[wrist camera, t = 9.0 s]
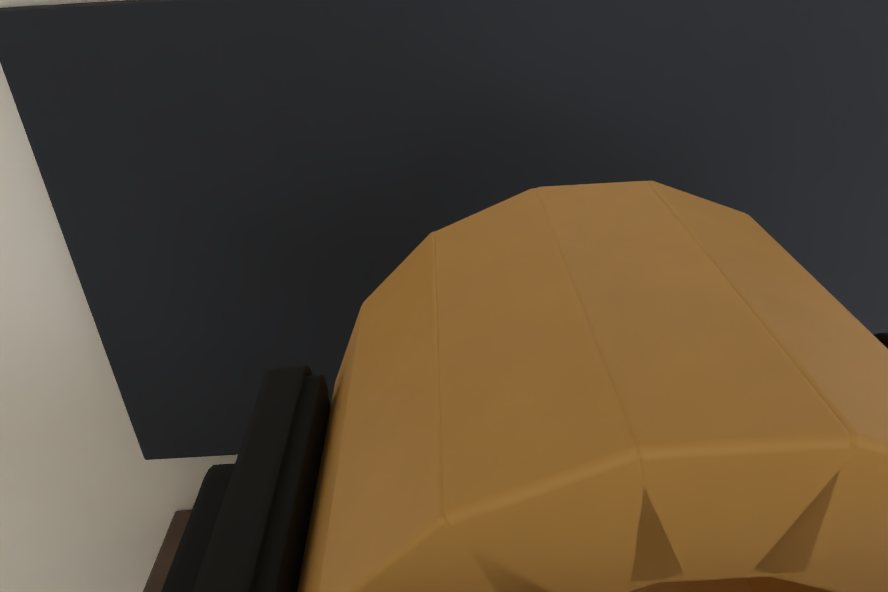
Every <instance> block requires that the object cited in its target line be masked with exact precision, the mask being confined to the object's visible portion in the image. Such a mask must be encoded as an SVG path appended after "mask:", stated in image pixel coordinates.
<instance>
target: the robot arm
mask: <svg viewBox="0 0 888 592" xmlns="http://www.w3.org/2000/svg"><path fill="white" fill-rule="evenodd" d="M874 336H875V337H876V338H877V339H878V340H879V341H880V342H881V343H882V344H883V345H884V346H885V347H886V348H887V349H888V332H886V333H877V334H874ZM330 408H331V406H330V400H329V395H328V389H327V383H326V379H325V376H324V375H312V371H311V369H310V367H309V366H308V365H306V366H288V367H271V368H269V369H267V371H266V373H265V376H264V379H263V382H262V385H261V388H260V391H259V394H258V397H257V400H256V403H255V406H254V409H253V412H252V415H251V418H250V421H249V424H248V427H247V430H246V433H245V436H244V439H243V442H242V445H241V448H240V451H239V454H238V457H237V460H236V463H235V464H219V465H213V466H212V467H211V468H210V469H209V470H208V472H207V473H206V475H205V477H204V480H203V482H202V485H201V488H200V490H199V493H198V496H197V498H196V501H195V503H194V506H193V509H192V511H191V514H190V517H189V519H188V522H187V525H186V527H185V530H184V532H183V535H182V538H181V540H180V543H179V546H178V548H177V551H176V554H175V556H174V559H173V561H172V564H171V567H170V569H169V572H168V575H167V577H166V580H165V583H164V585H163V588H162V591H161V592H297V589H298V583H299V578H300V572H301V567H302V561H303V556H304V550H305V545H306V539H307V534H308V528H309V523H310V517H311V512H312V506H313V501H314V496H315V490H316V485H317V479H318V474H319V468H320V463H321V457H322V452H323V446H324V441H325V435H326V430H327V424H328V419H329V413H330Z"/></svg>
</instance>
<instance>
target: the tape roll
mask: <svg viewBox="0 0 888 592" xmlns="http://www.w3.org/2000/svg"><path fill="white" fill-rule="evenodd" d="M297 592H888V349H887V348H886V347H885V346H884V345H883V344H882V343H881V342H880V341H879V340H878V339H877V338H876V337H875V336H874V335H873V334H872V333H871V332H870V331H869V330H868V329H867V328H866V327H865V326H864V325H862V324H861V323H860V322H859V321H858V320H857V319H856V318H855V317H854V316H853V315H852V314H851V313H850V312H849V311H848V310H847V309H846V308H845V307H844V306H843V305H842V304H841V303H840V302H839V301H838V300H837V299H836V298H834V297H833V296H832V295H831V294H830V293H829V292H828V291H827V290H826V289H825V288H824V287H823V286H822V285H821V284H820V283H819V282H818V281H817V280H816V279H815V278H814V277H813V276H812V275H811V274H810V273H809V272H808V271H807V270H805V269H804V268H803V267H802V266H801V265H800V264H799V263H798V262H797V261H796V260H795V259H794V258H793V257H792V256H791V255H790V254H789V253H788V252H787V251H786V250H785V249H784V248H783V247H782V246H781V245H780V244H779V243H777V242H776V241H775V240H774V239H773V238H772V237H771V236H770V235H769V234H768V233H767V232H766V231H765V230H764V229H763V228H762V227H761V226H760V225H759V224H758V223H757V222H756V221H755V220H754V219H753V218H752V217H751V216H749V215H748V214H746V213H743V212H740V211H738V210H735V209H732V208H729V207H726V206H723V205H720V204H718V203H715V202H712V201H709V200H706V199H703V198H700V197H698V196H695V195H692V194H689V193H686V192H683V191H680V190H678V189H675V188H672V187H669V186H666V185H663V184H661V183H658V182H655V181H631V182H614V183H596V184H579V185H562V186H545V187H538V188H533V189H529V190H527V191H525V192H523V193H520V194H518V195H516V196H514V197H511V198H509V199H507V200H505V201H502V202H500V203H498V204H496V205H493V206H491V207H489V208H487V209H484V210H482V211H480V212H478V213H475V214H473V215H471V216H469V217H466V218H464V219H462V220H460V221H457V222H455V223H453V224H451V225H449V226H446V227H444V228H442V229H440V230H437V231H435V232H434V231H433V232H432V233H430V234H429V235H428V236H427V237H426V238H425V239H424V240H423V241H422V242H421V243H420V244H419V245H418V246H417V247H416V248H415V250H414V251H413V252H412V253H411V254H410V255H409V256H408V257H407V258H406V259H405V260H404V261H403V262H402V263H401V264H400V265H399V266H398V267H397V268H396V269H395V270H394V271H393V272H392V273H391V274H390V275H389V276H388V277H387V278H386V279H385V280H384V282H383V283H382V284H381V285H380V286H379V287H378V288H377V289H376V290H375V291H374V292H373V293H372V294H371V295H370V296H369V297H368V298H367V299H366V300H365V301H364V302H363V304H362V305H361V308H360V311H359V314H358V317H357V320H356V323H355V326H354V329H353V331H352V334H351V337H350V340H349V343H348V346H347V349H346V352H345V355H344V358H343V361H342V364H341V366H340V369H339V372H338V375H337V378H336V381H335V386H334V391H333V397H332V402H331V408H330V413H329V419H328V424H327V430H326V435H325V441H324V446H323V452H322V457H321V463H320V468H319V474H318V479H317V485H316V490H315V496H314V501H313V506H312V512H311V517H310V523H309V528H308V534H307V539H306V545H305V550H304V556H303V561H302V567H301V572H300V578H299V583H298V589H297Z"/></svg>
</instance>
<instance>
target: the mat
mask: <svg viewBox="0 0 888 592" xmlns="http://www.w3.org/2000/svg"><path fill="white" fill-rule="evenodd" d="M0 63H1V65H2V68H3V71H4V74H5V76H6V79H7V82H8V85H9V87H10V90H11V93H12V96H13V98H14V101H15V104H16V107H17V109H18V112H19V115H20V118H21V120H22V123H23V126H24V129H25V131H26V134H27V137H28V140H29V142H30V145H31V148H32V151H33V153H34V156H35V159H36V162H37V164H38V167H39V170H40V173H41V175H42V178H43V181H44V184H45V186H46V189H47V192H48V195H49V197H50V200H51V203H52V206H53V208H54V211H55V214H56V217H57V219H58V222H59V225H60V228H61V230H62V233H63V236H64V239H65V241H66V244H67V247H68V250H69V252H70V255H71V258H72V261H73V263H74V266H75V269H76V272H77V274H78V277H79V280H80V283H81V285H82V288H83V291H84V294H85V296H86V299H87V302H88V305H89V307H90V310H91V313H92V316H93V318H94V321H95V324H96V327H97V329H98V332H99V335H100V338H101V340H102V343H103V346H104V349H105V351H106V354H107V357H108V360H109V362H110V365H111V368H112V371H113V373H114V376H115V379H116V382H117V384H118V387H119V390H120V393H121V395H122V398H123V401H124V404H125V406H126V409H127V412H128V415H129V417H130V420H131V423H132V426H133V428H134V431H135V434H136V437H137V439H138V442H139V445H140V448H141V450H142V453H143V456H144V458H145V459H146V460H151V459H168V458H185V457H202V456H219V455H236V454H239V451H240V448H241V445H242V442H243V439H244V436H245V433H246V430H247V427H248V424H249V421H250V418H251V415H252V412H253V409H254V406H255V403H256V400H257V397H258V394H259V391H260V388H261V385H262V382H263V379H264V376H265V373H266V371H267V369H269V368H271V367H288V366H306V365H308V366H309V367H310V369H311V371H312V375H324V376H325V379H326V383H327V389H328V395H329V400H330V406H331V402H332V397H333V391H334V386H335V381H336V378H337V375H338V372H339V369H340V366H341V364H342V361H343V358H344V355H345V352H346V349H347V346H348V343H349V340H350V337H351V334H352V331H353V329H354V326H355V323H356V320H357V317H358V314H359V311H360V308H361V305H362V304H363V302H364V301H365V300H366V299H367V298H368V297H369V296H370V295H371V294H372V293H373V292H374V291H375V290H376V289H377V288H378V287H379V286H380V285H381V284H382V283H383V282H384V280H385V279H386V278H387V277H388V276H389V275H390V274H391V273H392V272H393V271H394V270H395V269H396V268H397V267H398V266H399V265H400V264H401V263H402V262H403V261H404V260H405V259H406V258H407V257H408V256H409V255H410V254H411V253H412V252H413V251H414V250H415V248H416V247H417V246H418V245H419V244H420V243H421V242H422V241H423V240H424V239H425V238H426V237H427V236H428V235H429V234H430V233H432V232H433V231H434V232H435V231H437V230H440V229H442V228H444V227H446V226H449V225H451V224H453V223H455V222H457V221H460V220H462V219H464V218H466V217H469V216H471V215H473V214H475V213H478V212H480V211H482V210H484V209H487V208H489V207H491V206H493V205H496V204H498V203H500V202H502V201H505V200H507V199H509V198H511V197H514V196H516V195H518V194H520V193H523V192H525V191H527V190H529V189H533V188H538V187H545V186H562V185H579V184H596V183H614V182H631V181H655V182H658V183H661V184H663V185H666V186H669V187H672V188H675V189H678V190H680V191H683V192H686V193H689V194H692V195H695V196H698V197H700V198H703V199H706V200H709V201H712V202H715V203H718V204H720V205H723V206H726V207H729V208H732V209H735V210H738V211H740V212H743V213H746V214H748V215H749V216H751V217H752V218H753V219H754V220H755V221H756V222H757V223H758V224H759V225H760V226H761V227H762V228H763V229H764V230H765V231H766V232H767V233H768V234H769V235H770V236H771V237H772V238H773V239H774V240H775V241H776V242H777V243H779V244H780V245H781V246H782V247H783V248H784V249H785V250H786V251H787V252H788V253H789V254H790V255H791V256H792V257H793V258H794V259H795V260H796V261H797V262H798V263H799V264H800V265H801V266H802V267H803V268H804V269H805V270H807V271H808V272H809V273H810V274H811V275H812V276H813V277H814V278H815V279H816V280H817V281H818V282H819V283H820V284H821V285H822V286H823V287H824V288H825V289H826V290H827V291H828V292H829V293H830V294H831V295H832V296H833V297H834V298H836V299H837V300H838V301H839V302H840V303H841V304H842V305H843V306H844V307H845V308H846V309H847V310H848V311H849V312H850V313H851V314H852V315H853V316H854V317H855V318H856V319H857V320H858V321H859V322H860V323H861V324H862V325H864V326H865V327H866V328H867V329H868V330H869V331H870V332H871V333H872V334H873V335H874V334H877V333H886V332H888V0H127V1H110V2H93V3H76V4H59V5H42V6H25V7H8V8H0Z"/></svg>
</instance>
